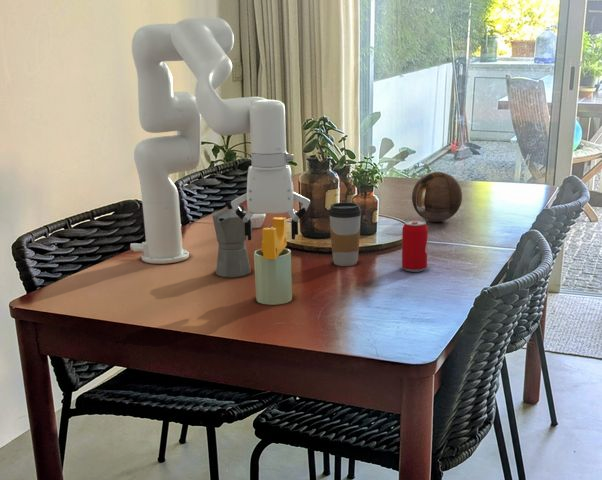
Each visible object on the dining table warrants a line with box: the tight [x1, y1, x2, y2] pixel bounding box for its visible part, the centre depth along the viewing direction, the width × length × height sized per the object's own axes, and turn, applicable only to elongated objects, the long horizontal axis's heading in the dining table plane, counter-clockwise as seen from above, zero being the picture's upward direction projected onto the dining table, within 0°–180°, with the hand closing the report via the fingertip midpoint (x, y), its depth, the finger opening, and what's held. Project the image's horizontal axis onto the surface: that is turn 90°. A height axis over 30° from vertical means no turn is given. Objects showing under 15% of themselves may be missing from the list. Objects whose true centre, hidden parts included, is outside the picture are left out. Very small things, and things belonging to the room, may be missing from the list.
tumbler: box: [253, 247, 293, 306], centre depth 194 cm, size 8×8×11 cm
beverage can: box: [401, 219, 429, 273], centre depth 214 cm, size 6×6×12 cm
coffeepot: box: [211, 200, 252, 278], centre depth 215 cm, size 15×9×18 cm, turn 163°
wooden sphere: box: [411, 171, 463, 223], centre depth 261 cm, size 15×15×15 cm
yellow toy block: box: [260, 216, 288, 259], centre depth 191 cm, size 12×4×6 cm, turn 169°
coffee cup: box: [328, 201, 362, 267], centre depth 220 cm, size 8×8×15 cm
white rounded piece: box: [250, 214, 266, 229], centre depth 261 cm, size 6×6×7 cm
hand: (271, 238), depth 191 cm, fingers open, 9 cm apart
